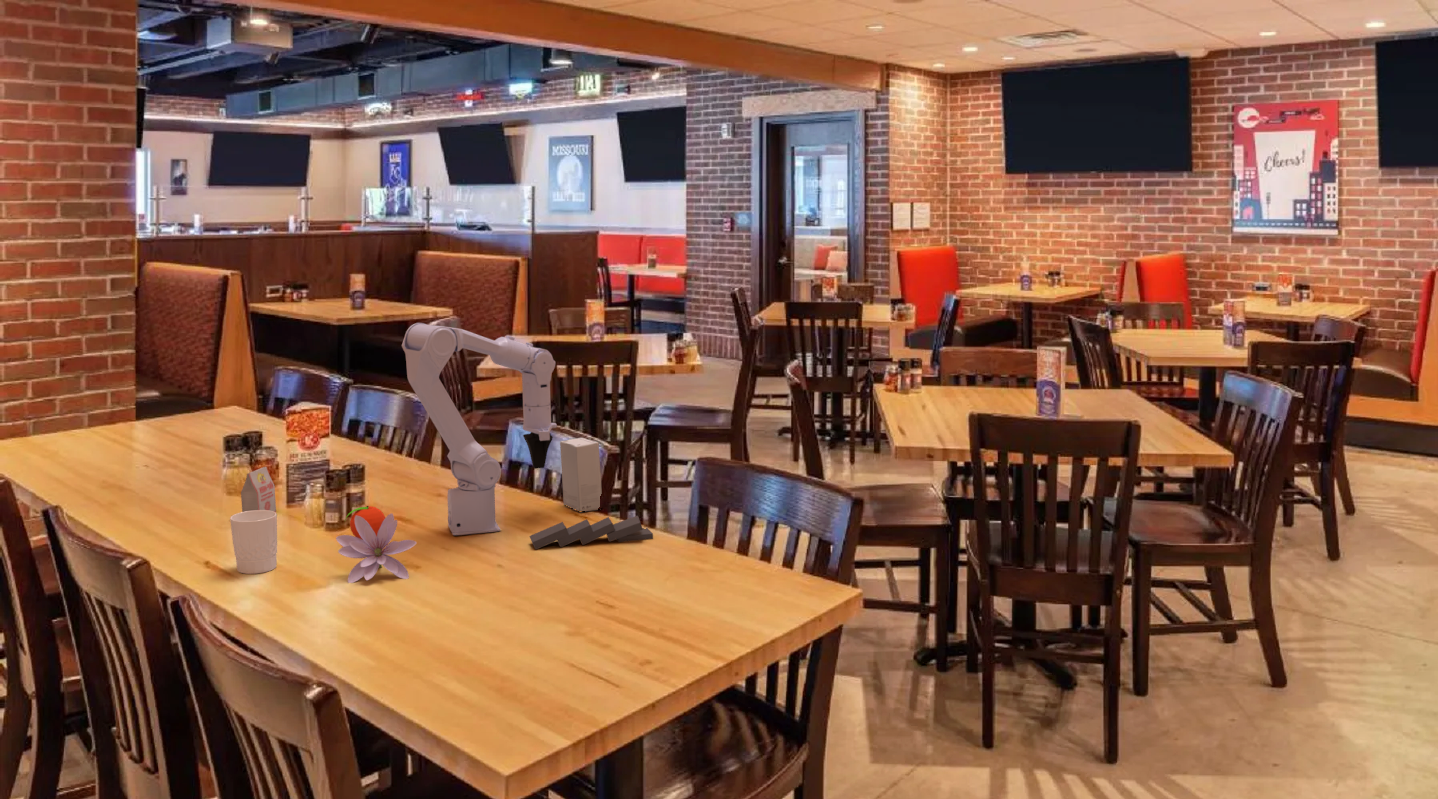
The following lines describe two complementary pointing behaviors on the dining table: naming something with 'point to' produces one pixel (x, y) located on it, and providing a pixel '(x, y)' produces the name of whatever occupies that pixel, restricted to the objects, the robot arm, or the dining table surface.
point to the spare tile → (598, 530)
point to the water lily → (374, 549)
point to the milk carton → (258, 491)
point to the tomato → (367, 518)
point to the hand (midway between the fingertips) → (538, 467)
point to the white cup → (255, 540)
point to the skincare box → (581, 474)
